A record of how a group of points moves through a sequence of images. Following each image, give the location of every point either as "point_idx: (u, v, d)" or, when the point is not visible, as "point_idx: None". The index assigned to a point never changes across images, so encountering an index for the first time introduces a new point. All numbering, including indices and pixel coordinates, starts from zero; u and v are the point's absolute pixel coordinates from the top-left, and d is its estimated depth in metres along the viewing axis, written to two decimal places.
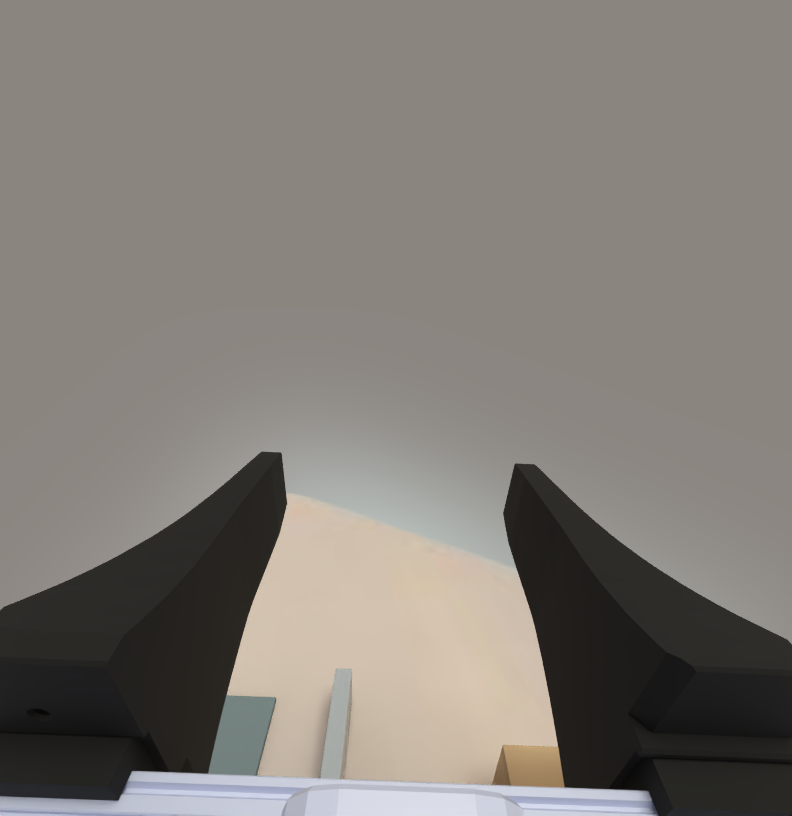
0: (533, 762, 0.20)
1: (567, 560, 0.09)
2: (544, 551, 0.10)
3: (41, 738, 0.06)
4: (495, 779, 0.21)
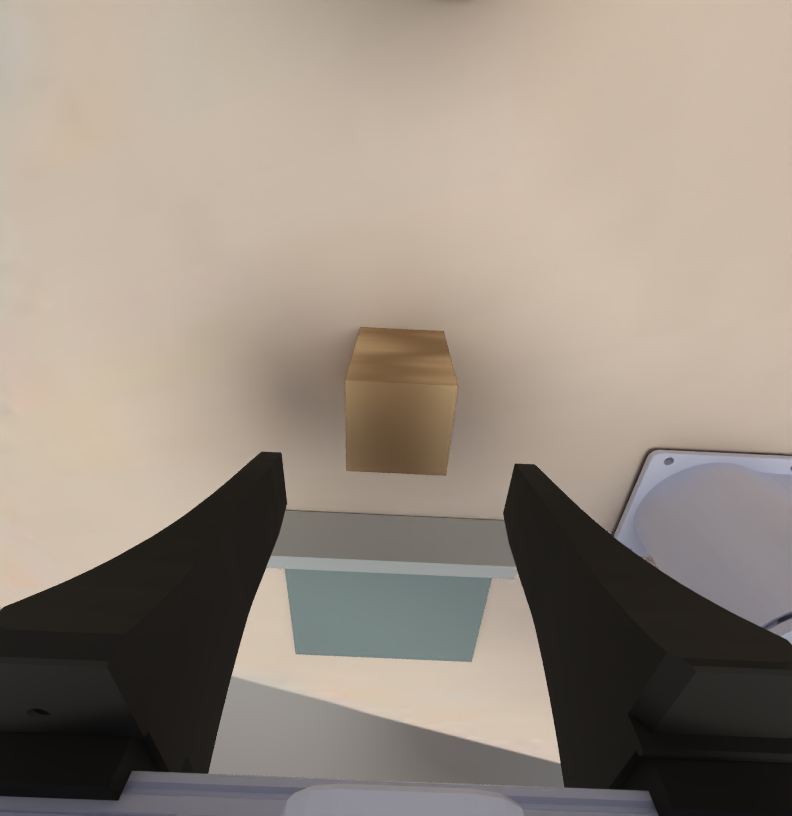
0: (363, 444, 0.16)
1: (567, 560, 0.09)
2: (545, 551, 0.10)
3: (41, 738, 0.06)
4: None
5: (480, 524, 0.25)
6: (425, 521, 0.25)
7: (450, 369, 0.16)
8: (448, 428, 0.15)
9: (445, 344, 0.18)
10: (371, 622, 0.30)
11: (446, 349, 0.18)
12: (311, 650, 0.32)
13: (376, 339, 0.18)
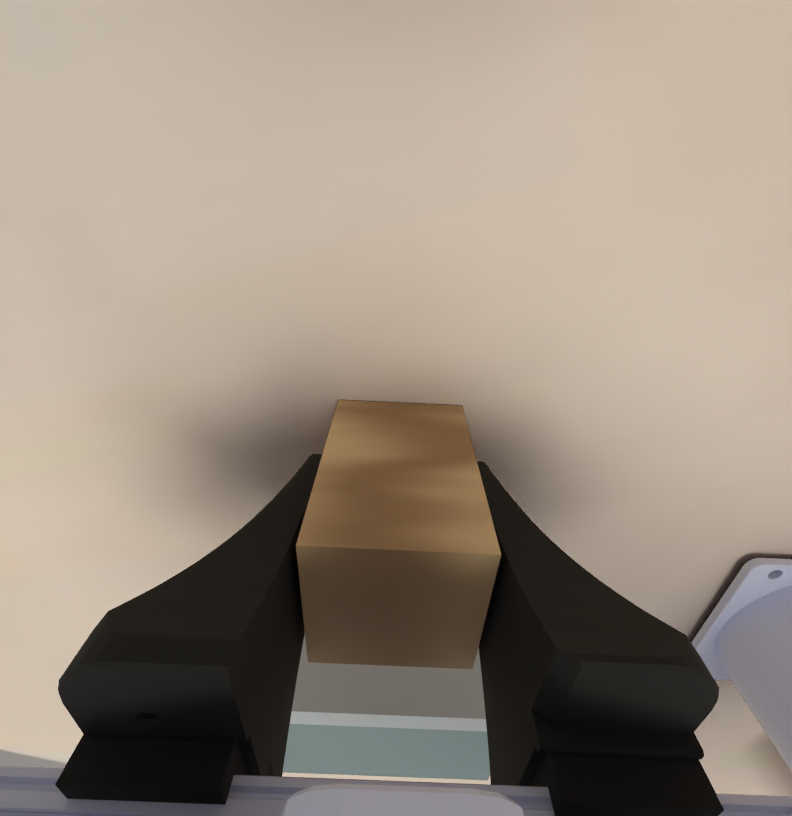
0: (334, 630, 0.09)
1: None
2: None
3: (146, 742, 0.06)
4: None
5: None
6: None
7: (482, 503, 0.09)
8: (480, 611, 0.09)
9: (468, 436, 0.12)
10: (362, 741, 0.24)
11: (470, 448, 0.11)
12: (287, 768, 0.26)
13: (360, 427, 0.12)
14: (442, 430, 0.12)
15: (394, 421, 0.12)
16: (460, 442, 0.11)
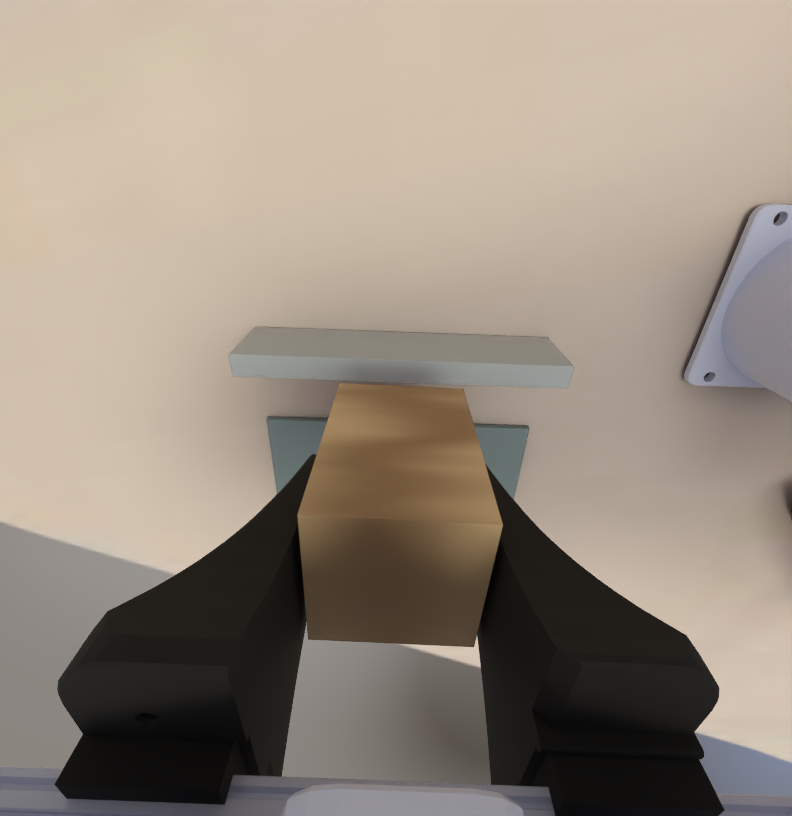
0: (335, 605, 0.09)
1: (497, 557, 0.09)
2: None
3: (146, 742, 0.06)
4: None
5: (518, 339, 0.19)
6: (446, 336, 0.19)
7: (484, 478, 0.09)
8: (481, 585, 0.09)
9: (469, 417, 0.12)
10: None
11: (471, 428, 0.11)
12: None
13: (362, 408, 0.12)
14: (443, 411, 0.12)
15: (395, 403, 0.12)
16: (461, 422, 0.11)
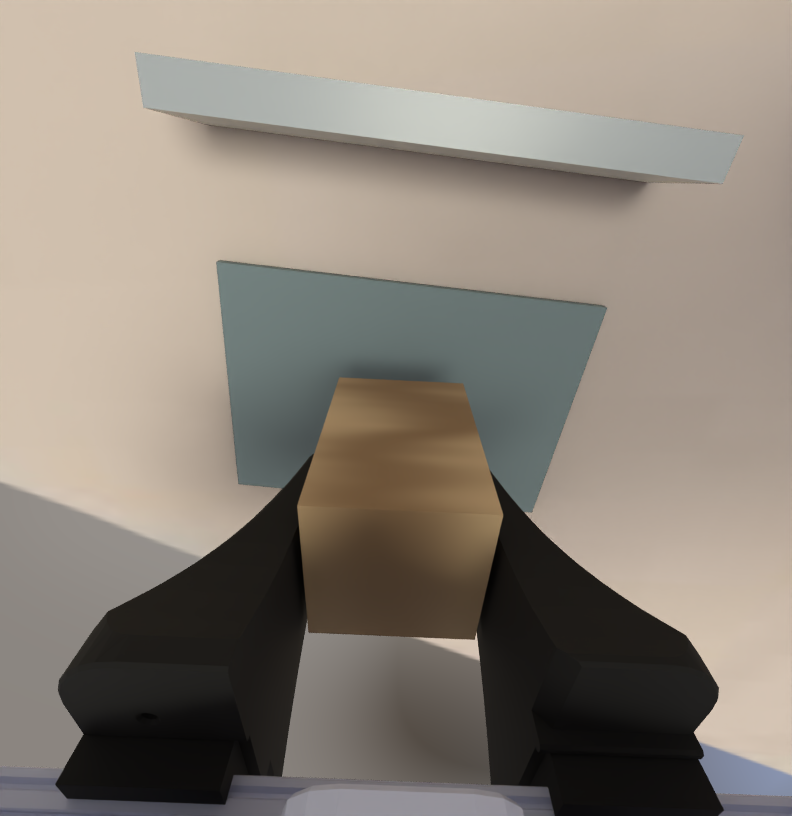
0: (335, 597, 0.09)
1: (497, 557, 0.09)
2: None
3: (146, 742, 0.06)
4: None
5: None
6: None
7: (484, 469, 0.09)
8: (482, 576, 0.09)
9: (469, 410, 0.12)
10: None
11: (471, 421, 0.11)
12: (265, 476, 0.19)
13: (361, 402, 0.12)
14: (443, 405, 0.12)
15: (395, 396, 0.12)
16: (461, 415, 0.11)
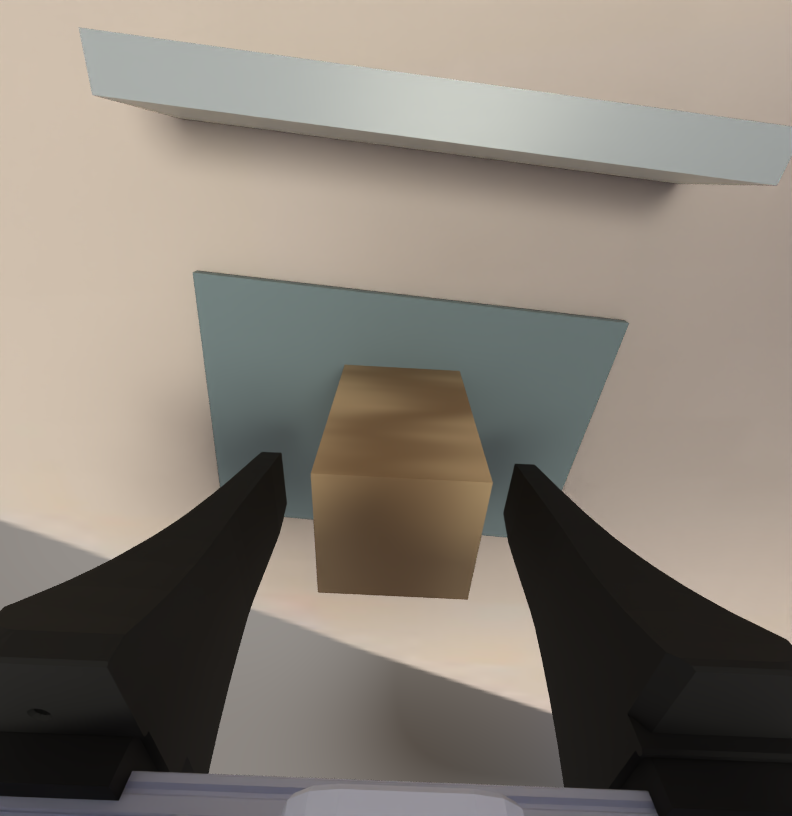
0: (342, 559, 0.10)
1: (567, 560, 0.09)
2: (544, 551, 0.10)
3: (42, 738, 0.06)
4: None
5: None
6: None
7: (476, 445, 0.10)
8: (474, 540, 0.10)
9: (464, 395, 0.13)
10: None
11: (466, 404, 0.12)
12: None
13: (365, 386, 0.13)
14: (441, 389, 0.13)
15: (396, 382, 0.13)
16: (457, 399, 0.12)
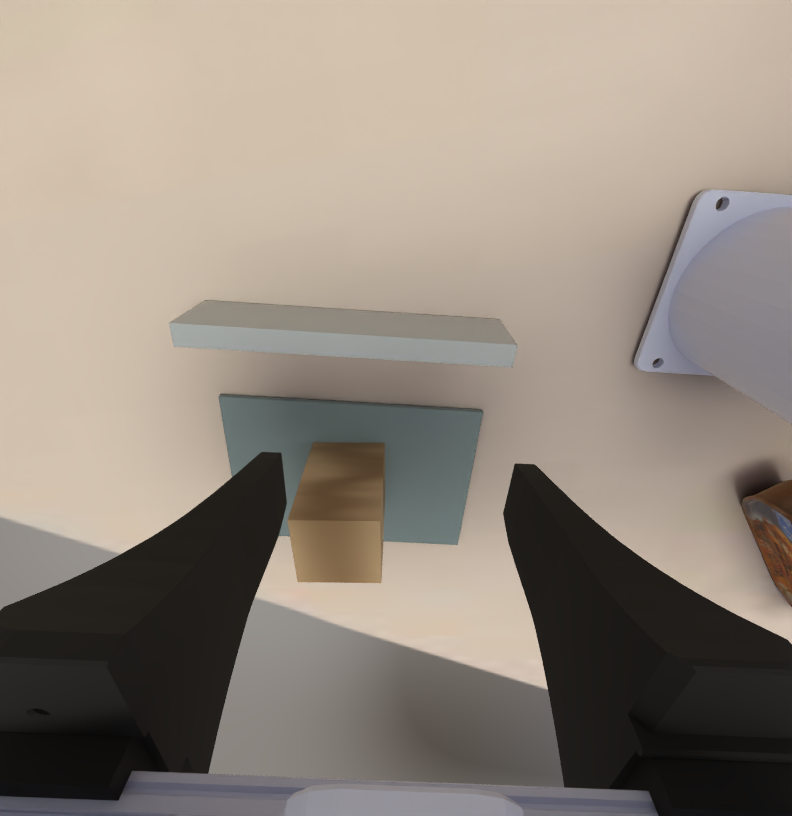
0: (309, 563, 0.19)
1: (567, 560, 0.09)
2: (544, 551, 0.10)
3: (41, 738, 0.06)
4: None
5: (469, 319, 0.19)
6: (397, 315, 0.19)
7: (378, 498, 0.19)
8: (377, 550, 0.18)
9: (382, 462, 0.21)
10: None
11: (381, 469, 0.21)
12: None
13: (323, 459, 0.21)
14: (368, 459, 0.21)
15: (343, 455, 0.22)
16: (376, 466, 0.21)
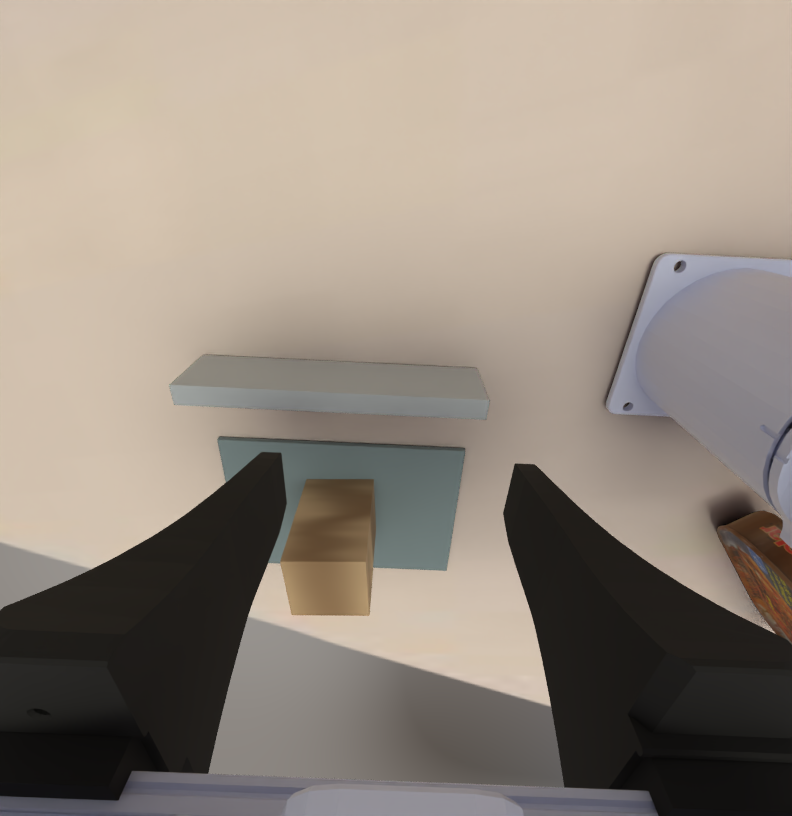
0: (301, 598, 0.20)
1: (567, 560, 0.09)
2: (545, 551, 0.10)
3: (41, 738, 0.06)
4: None
5: (448, 370, 0.21)
6: (381, 366, 0.21)
7: (365, 538, 0.20)
8: (364, 587, 0.20)
9: (370, 500, 0.23)
10: None
11: (369, 507, 0.22)
12: None
13: (315, 497, 0.23)
14: (358, 497, 0.23)
15: (334, 492, 0.23)
16: (365, 504, 0.22)
